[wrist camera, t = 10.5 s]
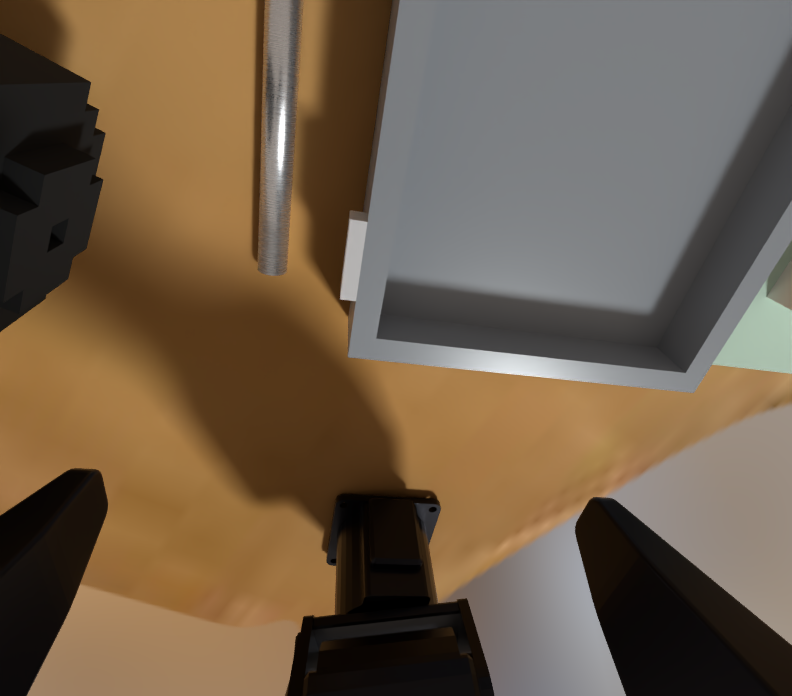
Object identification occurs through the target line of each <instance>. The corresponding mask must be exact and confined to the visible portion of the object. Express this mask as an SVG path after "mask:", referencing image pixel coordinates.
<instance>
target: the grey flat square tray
mask: <svg viewBox="0 0 792 696" xmlns="http://www.w3.org/2000/svg"><path fill="white" fill-rule="evenodd" d="M791 241H792V0H392V7H391V14H390V21H389V28H388V35H387V43H386V50H385V57H384V64H383V71H382V79H381V86H380V93H379V100H378V107H377V115H376V122H375V129H374V136H373V143H372V151H371V158H370V165H369V172H368V179H367V187H366V194H365V201H364V208H363V212H358V211H352V210H350V214H349V222H348V230H347V238H346V246H345V254H344V262H343V271H342V279H341V287H340V299H341V300H350V301H351V302H350V309H349V316H348V357H351V358H361V359H370V360H380V361H390V362H399V363H409V364H419V365H428V366H438V367H448V368H457V369H467V370H477V371H487V372H496V373H506V374H516V375H525V376H535V377H545V378H554V379H564V380H574V381H583V382H593V383H603V384H613V385H622V386H632V387H642V388H651V389H661V390H671V391H680V392H690V393H694V392H695V390H696V389H697V387H698V385H699V384H700V382H701V381H702V379H703V378H704V376H705V375H706V373H707V371H708V370H709V368H710V367H711V365H712V364H713V362H714V361H715V359H716V357H717V356H718V354H719V353H720V351H721V350H722V348H723V347H724V345H725V343H726V342H727V340H728V339H729V337H730V336H731V334H732V333H733V331H734V329H735V328H736V326H737V325H738V323H739V322H740V320H741V319H742V317H743V315H744V314H745V312H746V311H747V309H748V308H749V306H750V305H751V303H752V301H753V300H754V298H755V297H756V295H757V294H758V292H759V291H760V289H761V287H762V286H763V284H764V283H765V281H766V280H767V278H768V277H769V275H770V273H771V272H772V270H773V269H774V267H775V266H776V264H777V263H778V261H779V259H780V258H781V256H782V255H783V253H784V252H785V250H786V249H787V247H788V245H789V244H790V242H791Z"/></svg>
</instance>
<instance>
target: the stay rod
mask: <svg viewBox="0 0 792 696" xmlns="http://www.w3.org/2000/svg"><path fill="white" fill-rule="evenodd" d="M302 16H303V0H265V6H264V44H263V82H262V120H261V158H260V196H259V234H258V271H259V272H261V273H263V274H266V275H273V276H278V275H283V274H285V273H286V272H287V259H288V243H289V227H290V210H291V194H292V178H293V162H294V146H295V129H296V113H297V97H298V81H299V65H300V48H301V32H302Z"/></svg>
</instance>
